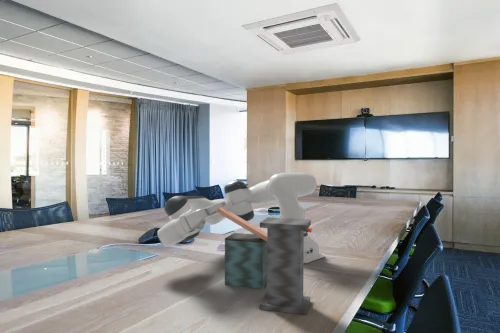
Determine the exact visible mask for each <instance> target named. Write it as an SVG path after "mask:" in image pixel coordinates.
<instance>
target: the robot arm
mask: <svg viewBox="0 0 500 333" xmlns="http://www.w3.org/2000/svg"><path fill="white" fill-rule="evenodd" d="M317 183H318V182H317V179H316V177H315V176H314V175H313V174H311V173H307V172H302V171H298V172H279V173H275V174H274V175H272V176H270V178H269V179H268V180H264V181H261V182H259V183H257V184H255V185H253V186H251V187H248V186H249V184H248V183H245V182H243V181H241V180H231V181H229V182H228V183H227V184H226V185H224V188H223V189H224V190H223V191H224V194H225V199H223V198H219V199H218V198H217V199H213V200H211V199H208V198H207V197H204V196H202V195H200V196H198V195H195V196H185V195H175V196H173V197H171V198H169V199H168V200H166V201H165V205H164V208H163V209H164V213H165V214H166V215H167V217H168V218H169V220H170V221H168V222H167V223H166V224H164V225H163V226H161V227H160V228H159V229H158V230H157V237H158V240H159V242H160V243H161V245H162V246H164V247H165V248H166V247H167V248H168V247H170V246H174V245H176V244H179V243H180V242H181V243H187V242H188V241H190V240H192V239H194V238H196V237H198V236H199V235H200V232H201V231H202V230H203V229H204V228H205V224H206V225H208V226H209V225H211V226H212V225H216V224H219V223H221V222H223V221H224V220H225V219H227V218H226V217H224V216H223V215H221V214H219V213H218V212H216V210H217V209H219V208H221V207H223V208H225V209H227V210H228V211H230V212H232V213H233V214H235V215H237V216H239V217H240V218H242V219H244V220H245V221H247V222H249V223H250V221H252V220H253V219H254V217H255V211H254V210H253V205H258V206H259V205H268V204H271V203H272V204H273V203H275V202H277V205H278V207H279V212H280V213H279V214H280V215H279V216H280V217H279V218H289V219H306V211H305V208H303V207H302V206H301V205H300V204H299V200H298V198H301V197H304V196H309V195H311V194H313V193H314V192H315V190H316V188H317V186H318V185H317ZM252 204H253V205H252ZM213 205H214V206H213ZM312 231H313V229H312V228H311V227H309V228H308V230H307V231H305V230H304V264H309V263H311V262H314V261H317V260H319V259H323V258H325V254H324V253H322V252H320V250H319V249H320V247H319V243H318V242H317V241H315V240H314V239H313V238H312V237H311V236H310V235H309V233H312Z"/></svg>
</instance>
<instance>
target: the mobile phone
mask: <svg viewBox="0 0 500 333" xmlns="http://www.w3.org/2000/svg"><path fill="white" fill-rule="evenodd" d="M215 251H217V252H225V242H220V243H219V244H218V246H217V247H216V249H215Z"/></svg>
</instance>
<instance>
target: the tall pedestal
mask: <svg viewBox="0 0 500 333" xmlns="http://www.w3.org/2000/svg"><path fill="white" fill-rule="evenodd" d="M311 224H312V220H311V219H306V218H305V219H289V218H280V217H270V216H269V217H265V219H263V220H262V221H260V222H259V229H266V230H267V231H266V233H267V283H266V293H265V294H264V296H263V298H262V299H261V300H260V302H259V306H258V308H259V310H265V311H272V312H280V313H287V314H296V315H303V316H304V315H305V316H307V315H308V314H307V313H308V310H309V307H310V304H311V296H306V295H304V265H305V263H304V230H305V231H307V230H308V228H310V226H311Z"/></svg>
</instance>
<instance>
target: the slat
mask: <svg viewBox="0 0 500 333" xmlns="http://www.w3.org/2000/svg"><path fill="white" fill-rule="evenodd" d="M213 206H214V205H213ZM216 212H218V213H219V214H221V215H223V216H224V217H226V218H225V219H228V220H230V221H231V222H233V223H235V224H236V225H238V226H239V227H241V228H243V229H244V230H246V231H248V232H249V233H250V234H254V235H256V236H258V237H260V238H261V239H263V240H265V241H266V242H267V231H264V230H262V228H260V227H257V226H255V225H254V224H253V223H250V221H249V222H247V221H245V220H244V219H242V218H240V217H239V216H237V215H235V214H233V213H232V212H230V211H228V210H227V209H225V208H223V207H221V208H219V209H217V210H216Z"/></svg>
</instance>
